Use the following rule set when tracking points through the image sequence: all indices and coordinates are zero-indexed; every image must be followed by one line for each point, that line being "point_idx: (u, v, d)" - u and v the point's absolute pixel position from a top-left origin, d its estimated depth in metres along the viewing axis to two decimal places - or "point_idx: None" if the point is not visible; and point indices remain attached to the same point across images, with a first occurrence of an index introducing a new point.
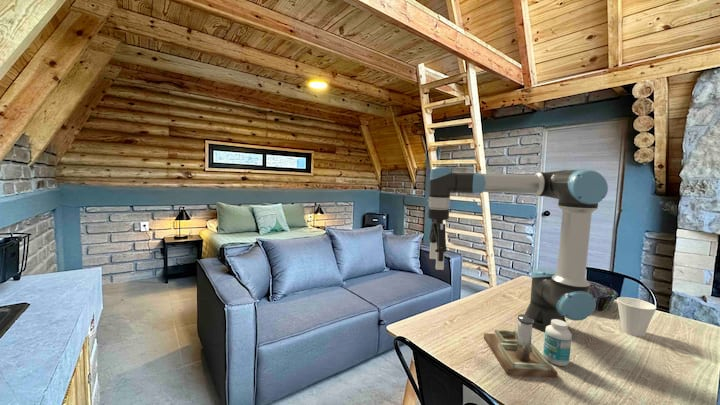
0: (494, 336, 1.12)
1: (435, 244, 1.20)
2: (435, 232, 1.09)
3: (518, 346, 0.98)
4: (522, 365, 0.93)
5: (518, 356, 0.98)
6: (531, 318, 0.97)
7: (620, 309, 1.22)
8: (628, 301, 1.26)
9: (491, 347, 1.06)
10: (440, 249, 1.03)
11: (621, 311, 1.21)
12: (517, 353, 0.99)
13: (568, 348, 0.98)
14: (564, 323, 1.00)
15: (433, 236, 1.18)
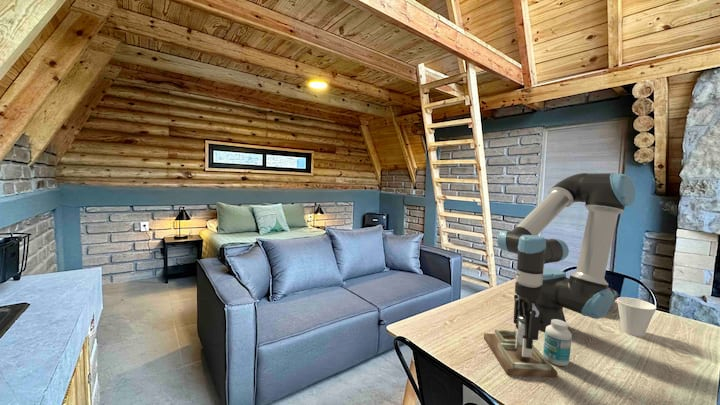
0: (494, 336, 1.12)
1: None
2: (525, 314, 0.95)
3: (518, 346, 0.98)
4: (522, 365, 0.93)
5: (518, 356, 0.98)
6: None
7: (620, 309, 1.22)
8: (628, 301, 1.26)
9: (491, 347, 1.06)
10: (531, 338, 0.93)
11: (621, 311, 1.21)
12: (517, 353, 0.99)
13: (568, 348, 0.98)
14: (564, 323, 1.00)
15: None
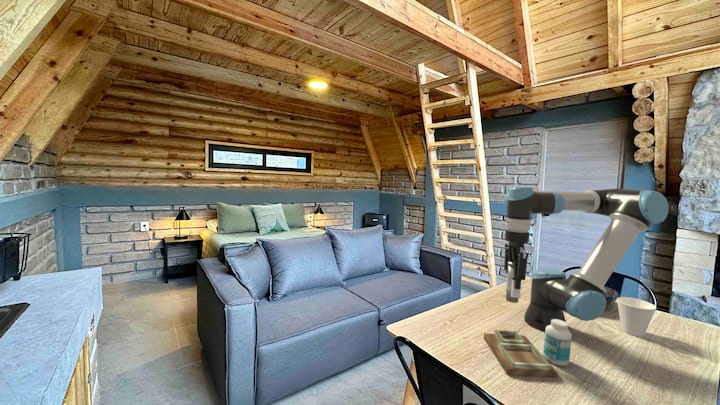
0: (494, 336, 1.12)
1: None
2: (514, 258, 1.04)
3: (508, 289, 1.07)
4: (522, 365, 0.93)
5: (508, 298, 1.07)
6: None
7: (620, 309, 1.22)
8: (628, 301, 1.26)
9: (491, 347, 1.06)
10: (519, 278, 1.01)
11: (621, 311, 1.21)
12: (507, 296, 1.08)
13: (568, 348, 0.98)
14: (564, 323, 1.00)
15: None
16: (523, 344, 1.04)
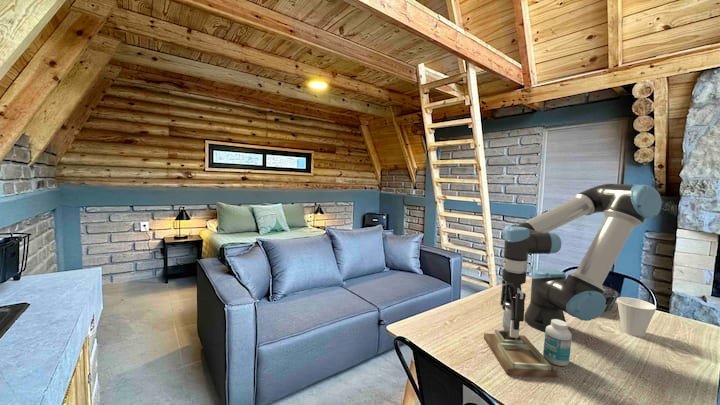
0: (494, 336, 1.12)
1: None
2: (511, 298, 1.05)
3: (505, 329, 1.09)
4: (522, 365, 0.93)
5: (505, 338, 1.09)
6: None
7: (620, 309, 1.22)
8: (628, 301, 1.26)
9: (491, 347, 1.06)
10: (517, 319, 1.02)
11: (621, 311, 1.21)
12: (504, 336, 1.09)
13: (568, 348, 0.98)
14: (564, 323, 1.00)
15: None
16: (523, 344, 1.04)
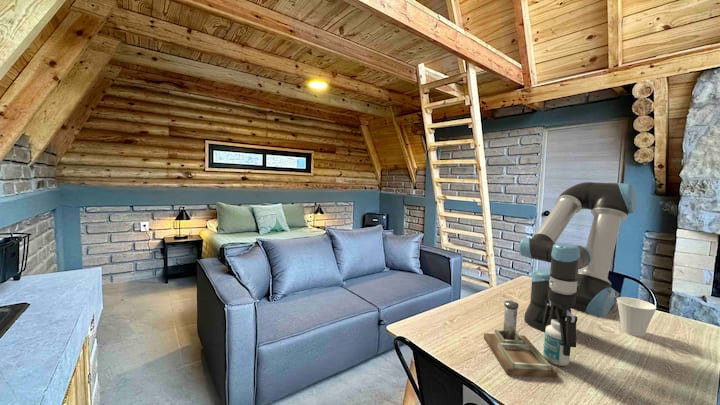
0: (494, 336, 1.12)
1: None
2: (560, 321, 0.97)
3: (504, 329, 1.09)
4: (522, 365, 0.93)
5: (505, 338, 1.09)
6: (516, 304, 1.08)
7: (620, 309, 1.22)
8: (628, 301, 1.26)
9: (491, 347, 1.06)
10: (569, 345, 0.93)
11: (621, 311, 1.21)
12: (504, 336, 1.09)
13: None
14: None
15: None
16: (523, 344, 1.04)
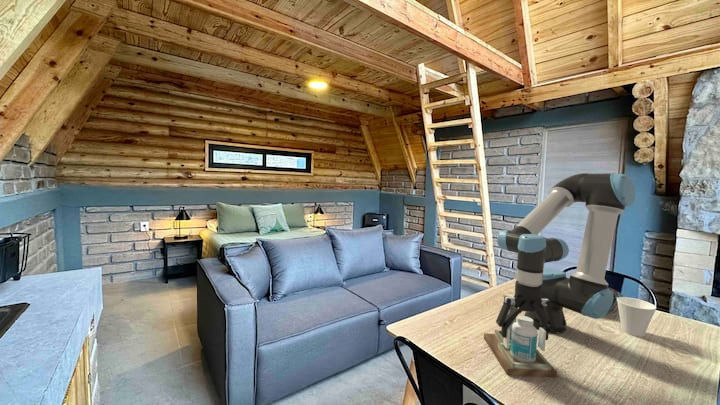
0: (494, 336, 1.12)
1: (542, 332, 0.97)
2: (513, 306, 0.99)
3: None
4: (522, 365, 0.93)
5: None
6: None
7: (620, 309, 1.22)
8: (628, 301, 1.26)
9: (491, 347, 1.06)
10: (496, 321, 0.99)
11: (621, 311, 1.21)
12: None
13: (515, 341, 0.97)
14: (525, 320, 0.96)
15: (538, 318, 0.98)
16: None
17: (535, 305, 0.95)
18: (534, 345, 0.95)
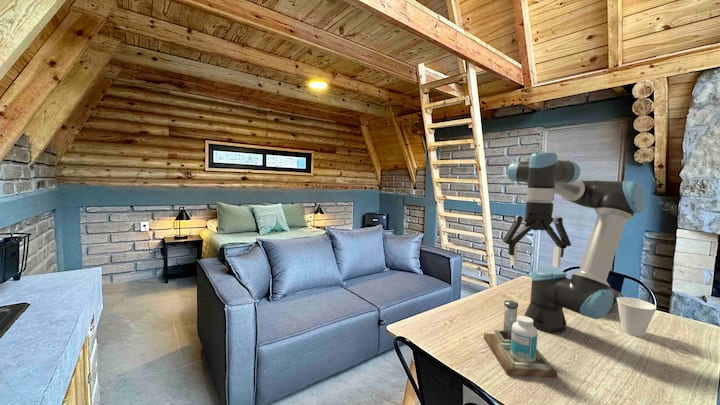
0: (494, 336, 1.12)
1: (557, 249, 0.97)
2: (523, 226, 0.99)
3: (504, 329, 1.09)
4: (522, 365, 0.93)
5: (504, 338, 1.09)
6: (516, 303, 1.08)
7: (620, 309, 1.22)
8: (628, 301, 1.26)
9: (491, 347, 1.06)
10: (503, 239, 0.99)
11: (621, 311, 1.21)
12: (503, 335, 1.09)
13: (515, 341, 0.97)
14: (525, 320, 0.97)
15: (551, 237, 0.97)
16: None
17: (546, 223, 0.95)
18: (534, 345, 0.95)
